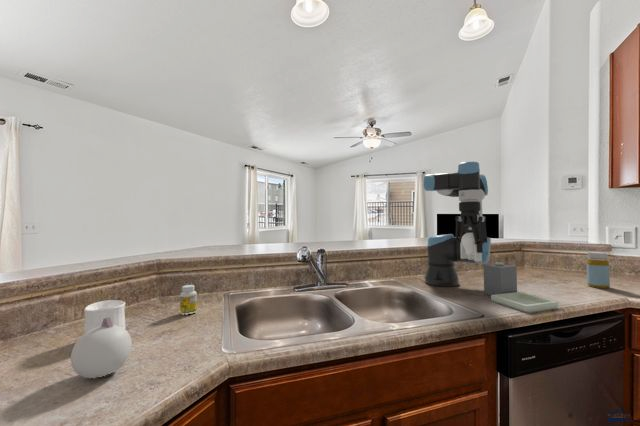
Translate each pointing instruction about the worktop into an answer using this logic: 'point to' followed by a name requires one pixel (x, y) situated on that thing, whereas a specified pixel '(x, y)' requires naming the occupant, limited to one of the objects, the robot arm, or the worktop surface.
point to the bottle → (598, 270)
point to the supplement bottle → (188, 299)
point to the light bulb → (468, 245)
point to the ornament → (101, 350)
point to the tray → (524, 302)
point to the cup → (104, 314)
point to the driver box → (499, 278)
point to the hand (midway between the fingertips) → (470, 259)
